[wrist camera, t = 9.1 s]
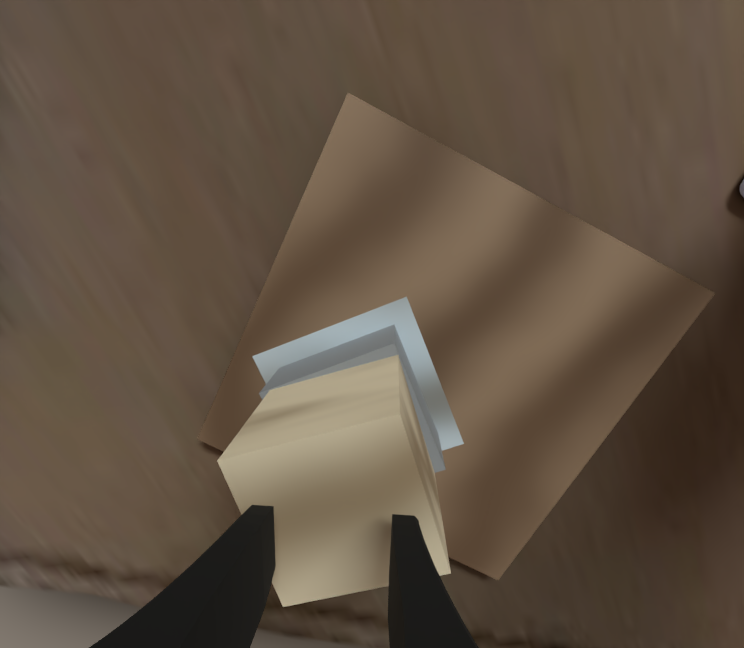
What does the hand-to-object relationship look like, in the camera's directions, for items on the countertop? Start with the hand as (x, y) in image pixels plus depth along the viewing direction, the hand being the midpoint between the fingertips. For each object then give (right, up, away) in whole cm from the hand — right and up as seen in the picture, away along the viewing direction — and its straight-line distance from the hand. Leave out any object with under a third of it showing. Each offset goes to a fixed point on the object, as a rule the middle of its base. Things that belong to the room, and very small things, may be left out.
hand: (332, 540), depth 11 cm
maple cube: (0, +1, +6) cm, 6 cm away
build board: (+4, +4, +9) cm, 11 cm away
